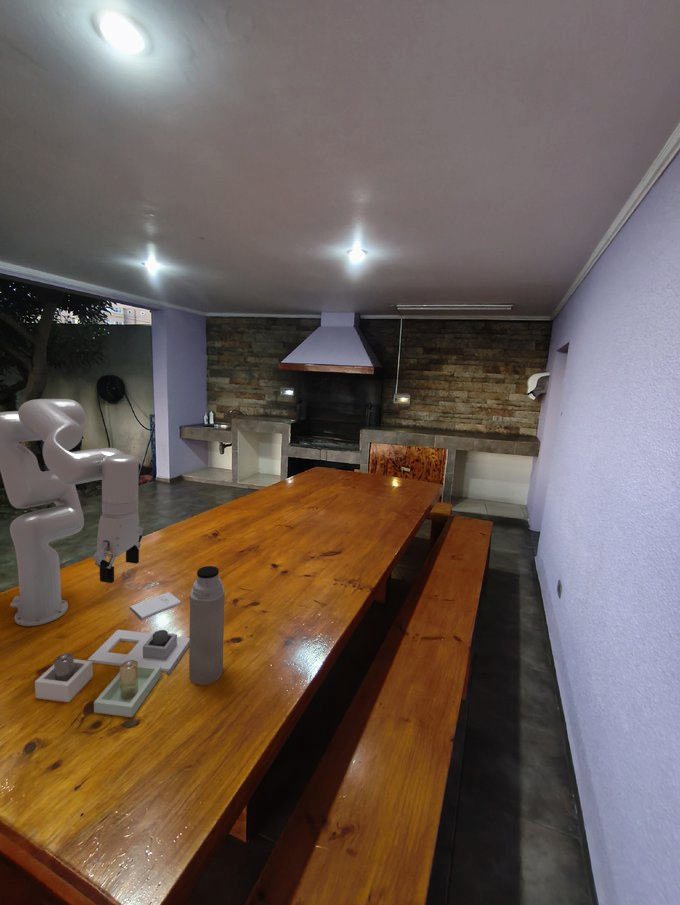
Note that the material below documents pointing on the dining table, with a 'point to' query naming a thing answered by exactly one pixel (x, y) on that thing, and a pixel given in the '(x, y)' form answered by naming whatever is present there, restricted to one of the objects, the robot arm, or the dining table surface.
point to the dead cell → (64, 667)
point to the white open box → (63, 682)
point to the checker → (142, 650)
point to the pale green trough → (116, 705)
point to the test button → (160, 638)
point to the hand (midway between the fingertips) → (120, 571)
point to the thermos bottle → (206, 627)
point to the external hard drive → (155, 605)
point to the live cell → (129, 679)
